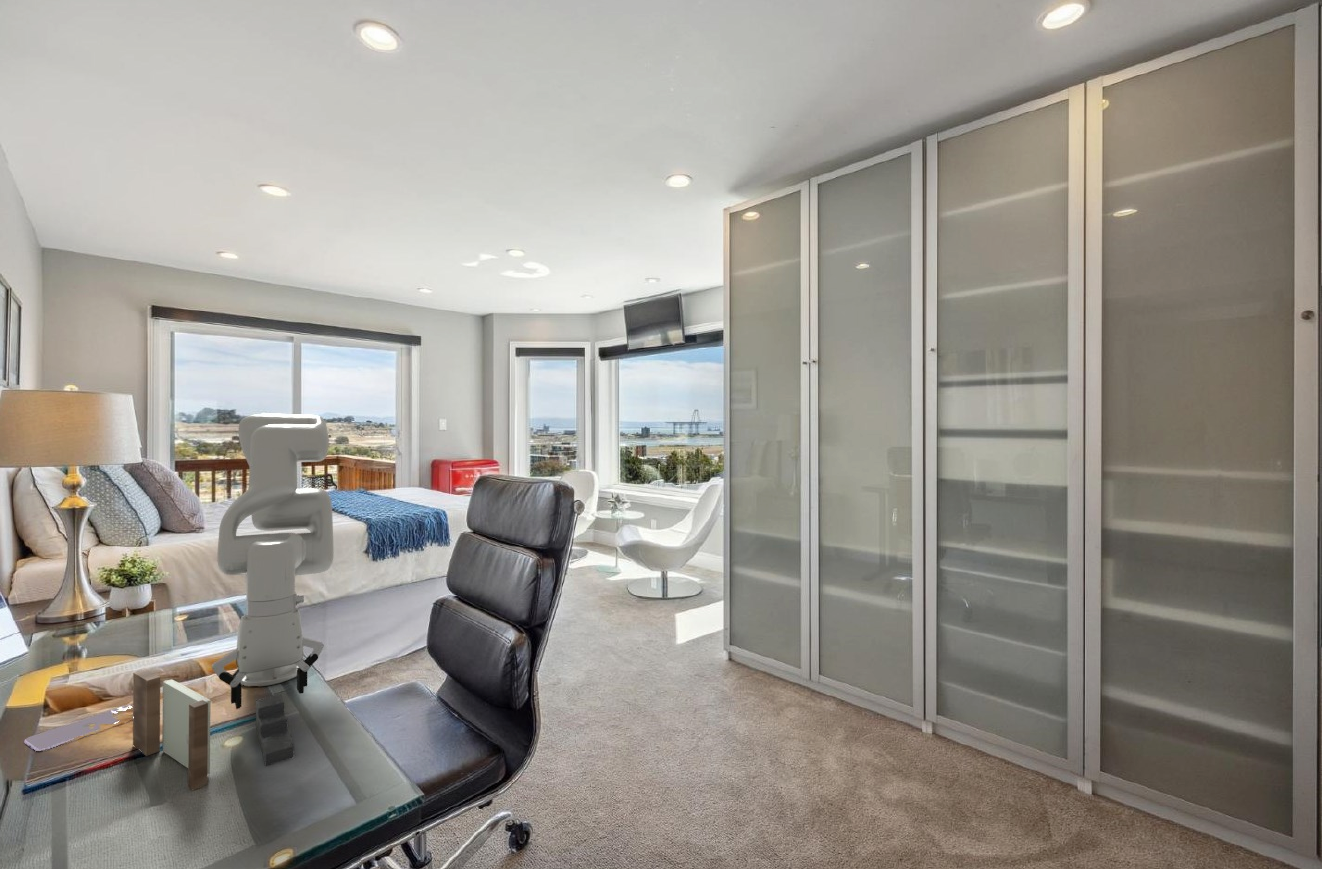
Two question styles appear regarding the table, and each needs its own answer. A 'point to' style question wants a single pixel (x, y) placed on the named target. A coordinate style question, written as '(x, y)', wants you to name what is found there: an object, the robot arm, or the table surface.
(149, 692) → the wooden posts
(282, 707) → the dark gray beam
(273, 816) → the table surface
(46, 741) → the mobile phone
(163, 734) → the door
